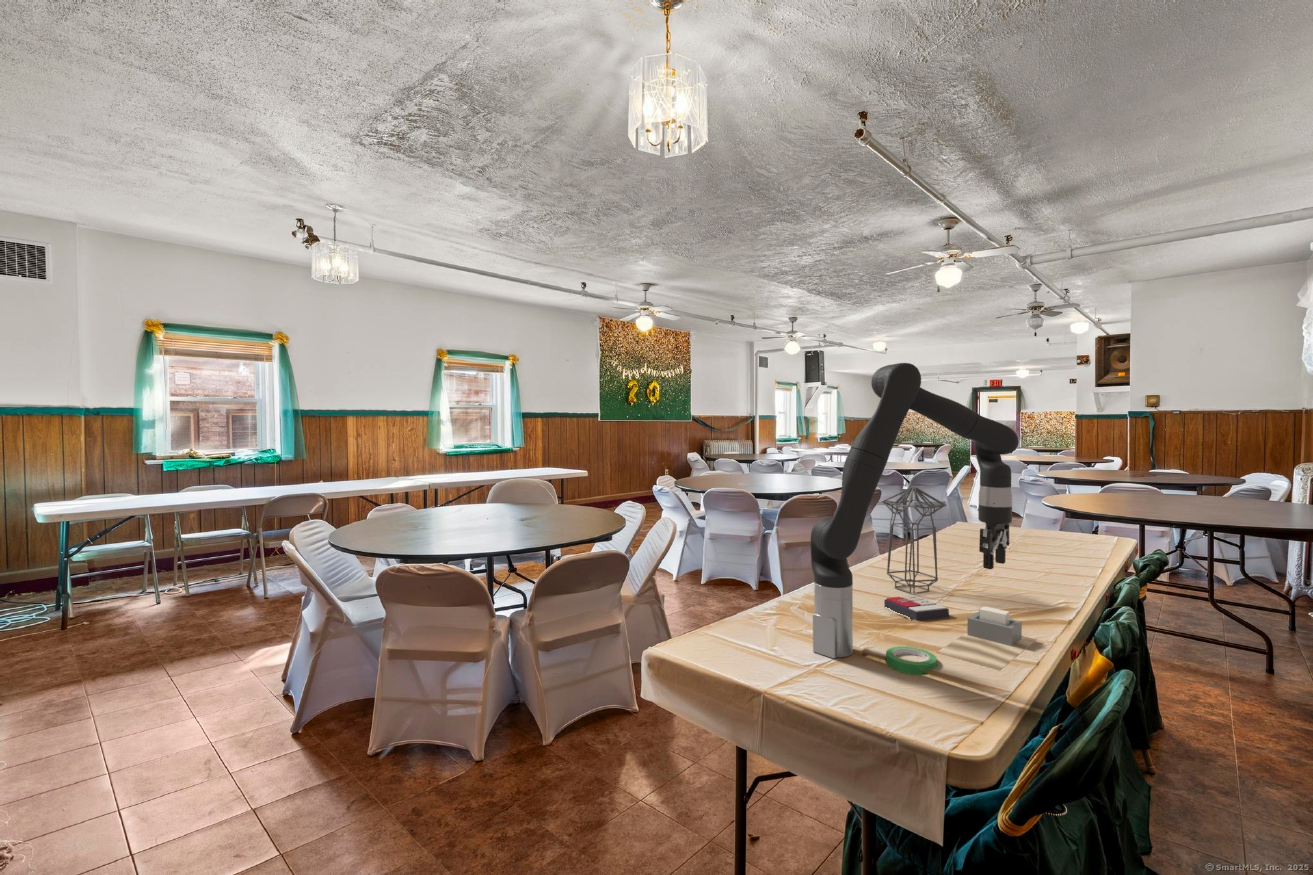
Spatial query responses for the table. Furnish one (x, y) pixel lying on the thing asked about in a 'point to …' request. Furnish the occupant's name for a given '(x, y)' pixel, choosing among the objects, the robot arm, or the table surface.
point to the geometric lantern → (912, 534)
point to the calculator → (916, 608)
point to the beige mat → (985, 651)
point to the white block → (994, 615)
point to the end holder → (995, 630)
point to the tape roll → (910, 666)
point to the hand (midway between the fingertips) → (994, 565)
